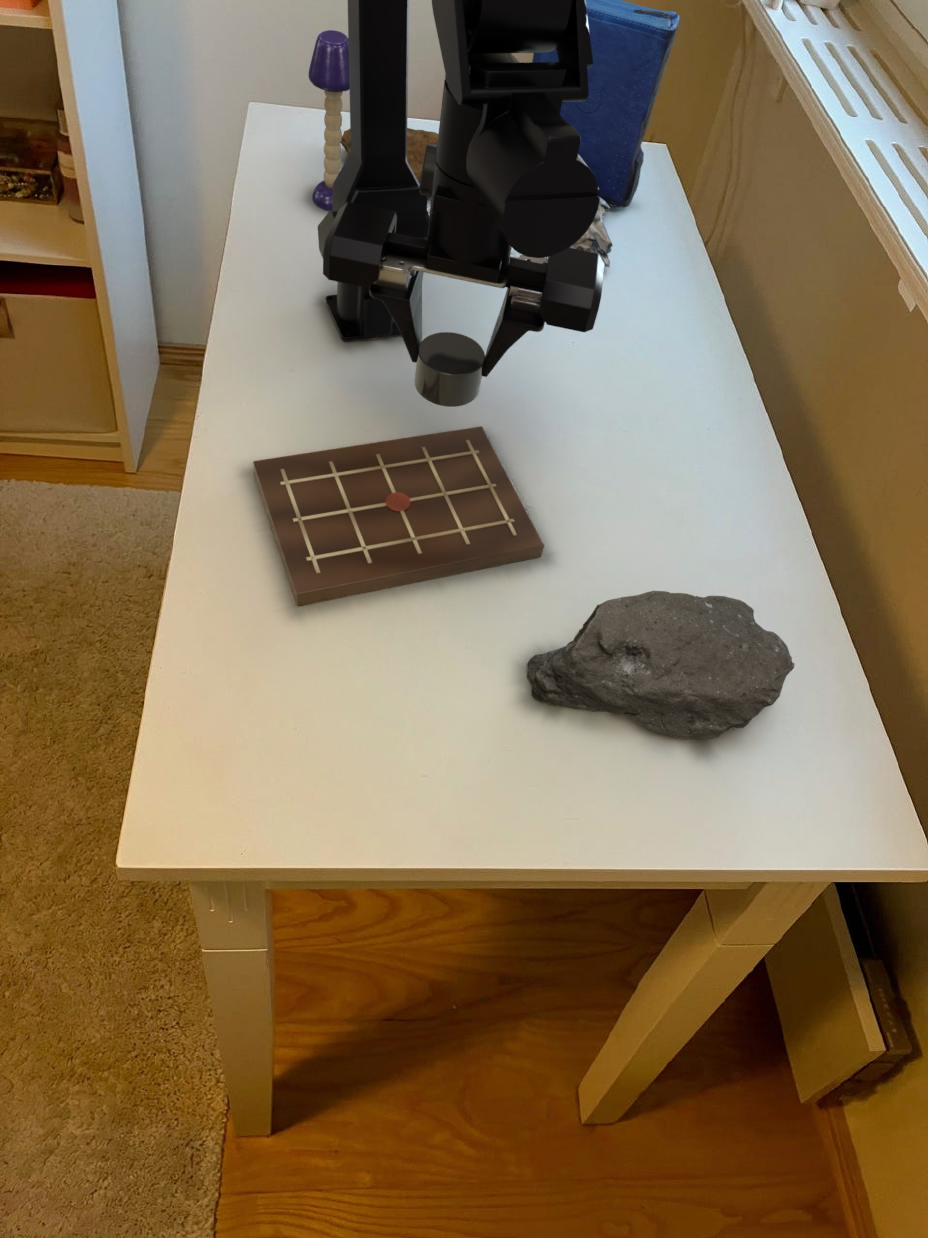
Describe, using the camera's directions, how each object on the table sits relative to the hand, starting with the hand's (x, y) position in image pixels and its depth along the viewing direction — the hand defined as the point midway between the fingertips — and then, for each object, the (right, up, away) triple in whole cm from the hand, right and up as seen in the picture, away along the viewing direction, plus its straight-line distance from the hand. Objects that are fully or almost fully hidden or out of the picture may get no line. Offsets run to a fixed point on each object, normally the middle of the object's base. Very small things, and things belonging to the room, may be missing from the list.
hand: (450, 366), depth 72 cm
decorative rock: (-6, +32, +37) cm, 49 cm away
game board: (-4, -11, +5) cm, 13 cm away
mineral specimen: (+13, +23, +34) cm, 43 cm away
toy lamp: (-14, +26, +31) cm, 43 cm away
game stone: (0, -1, +1) cm, 1 cm away
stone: (+15, -25, -1) cm, 29 cm away
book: (+13, +30, +39) cm, 51 cm away
